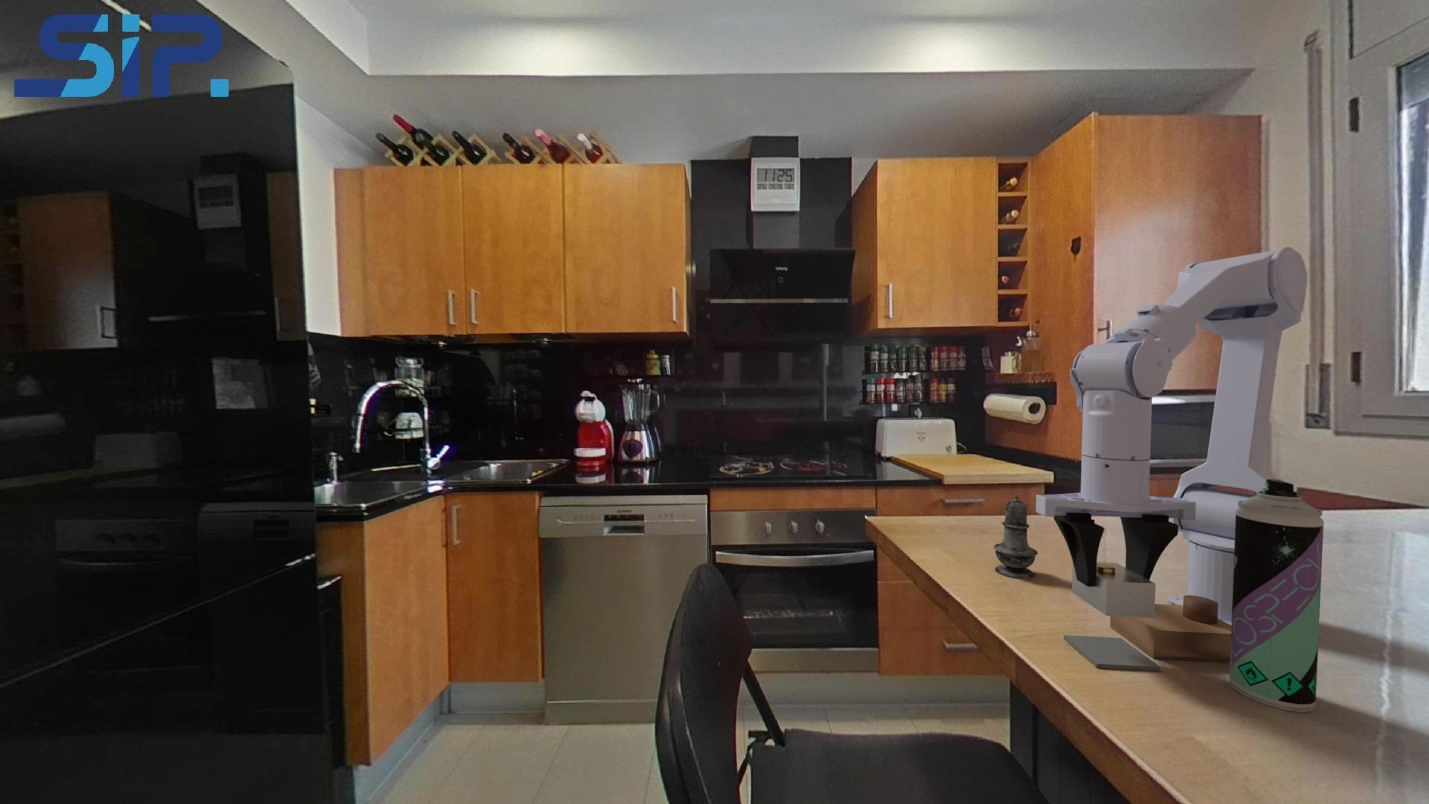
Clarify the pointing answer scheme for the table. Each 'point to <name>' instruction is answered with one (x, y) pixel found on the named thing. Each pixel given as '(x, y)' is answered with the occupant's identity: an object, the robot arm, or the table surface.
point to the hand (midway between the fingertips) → (1111, 584)
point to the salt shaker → (1015, 543)
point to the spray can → (1276, 598)
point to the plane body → (1179, 631)
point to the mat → (1111, 653)
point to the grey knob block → (1118, 592)
